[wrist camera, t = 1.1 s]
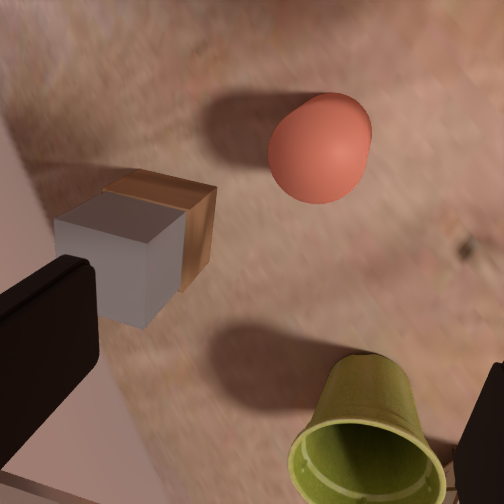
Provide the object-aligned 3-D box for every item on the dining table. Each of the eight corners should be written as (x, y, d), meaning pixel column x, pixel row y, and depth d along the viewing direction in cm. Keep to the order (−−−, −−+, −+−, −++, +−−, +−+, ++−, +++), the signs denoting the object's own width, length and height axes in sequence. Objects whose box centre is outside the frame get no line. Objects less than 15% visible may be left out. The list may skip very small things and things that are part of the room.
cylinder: (298, 86, 27) (276, 96, 22) (381, 100, 26) (378, 115, 21) (284, 165, 30) (261, 192, 24) (360, 181, 29) (353, 213, 23)
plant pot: (462, 380, 32) (484, 483, 25) (383, 448, 37) (381, 552, 30) (353, 310, 33) (341, 392, 25) (287, 387, 37) (261, 475, 30)
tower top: (105, 191, 28) (53, 218, 24) (186, 211, 27) (146, 243, 23) (106, 266, 31) (59, 303, 26) (180, 287, 30) (143, 329, 25)
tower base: (140, 168, 33) (101, 188, 28) (217, 186, 32) (189, 209, 27) (138, 241, 35) (102, 269, 31) (209, 260, 34) (182, 292, 30)
